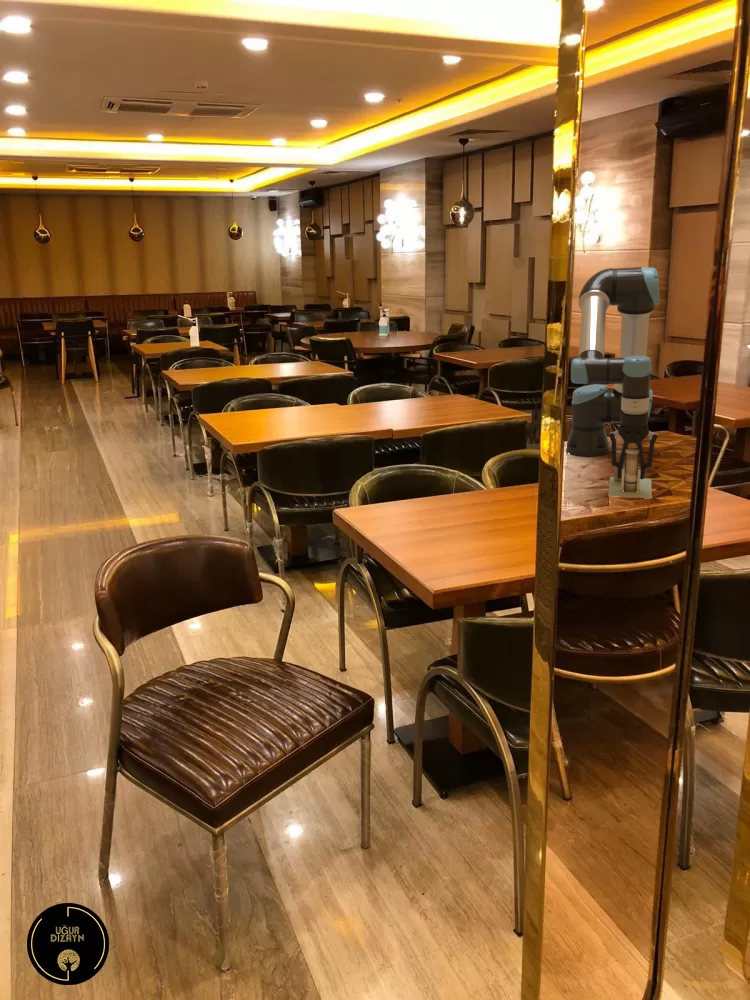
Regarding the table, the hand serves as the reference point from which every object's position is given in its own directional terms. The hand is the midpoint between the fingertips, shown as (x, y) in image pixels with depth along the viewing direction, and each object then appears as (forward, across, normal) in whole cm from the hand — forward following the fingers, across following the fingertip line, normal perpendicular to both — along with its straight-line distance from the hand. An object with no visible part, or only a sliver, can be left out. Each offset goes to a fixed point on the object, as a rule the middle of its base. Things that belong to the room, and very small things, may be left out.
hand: (630, 488), depth 240 cm
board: (+4, 0, +2) cm, 5 cm away
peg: (+2, 0, 0) cm, 2 cm away
